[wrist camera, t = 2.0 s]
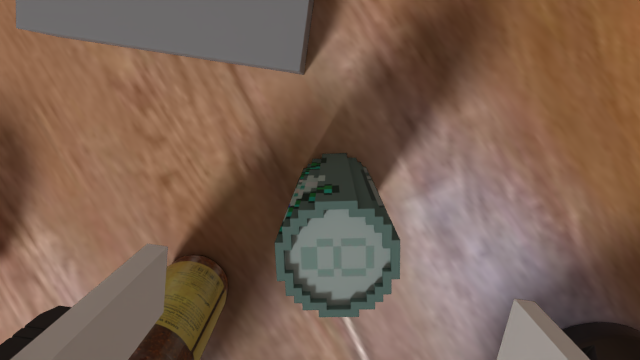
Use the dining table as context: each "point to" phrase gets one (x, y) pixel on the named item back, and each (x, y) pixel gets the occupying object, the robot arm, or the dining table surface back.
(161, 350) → the sauce bottle
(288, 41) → the socket block
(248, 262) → the dining table surface
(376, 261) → the can
